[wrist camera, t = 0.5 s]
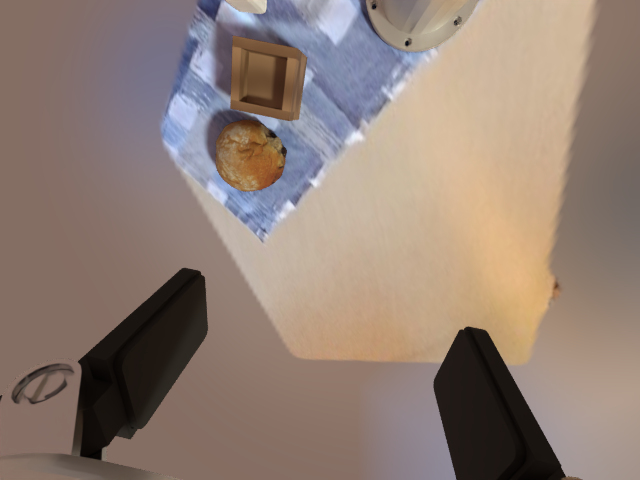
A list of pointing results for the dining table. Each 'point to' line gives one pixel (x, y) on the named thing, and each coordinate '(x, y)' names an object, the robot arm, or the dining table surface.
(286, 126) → the dining table surface
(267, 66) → the wooden open box
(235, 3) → the pepper shaker
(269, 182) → the bread roll
